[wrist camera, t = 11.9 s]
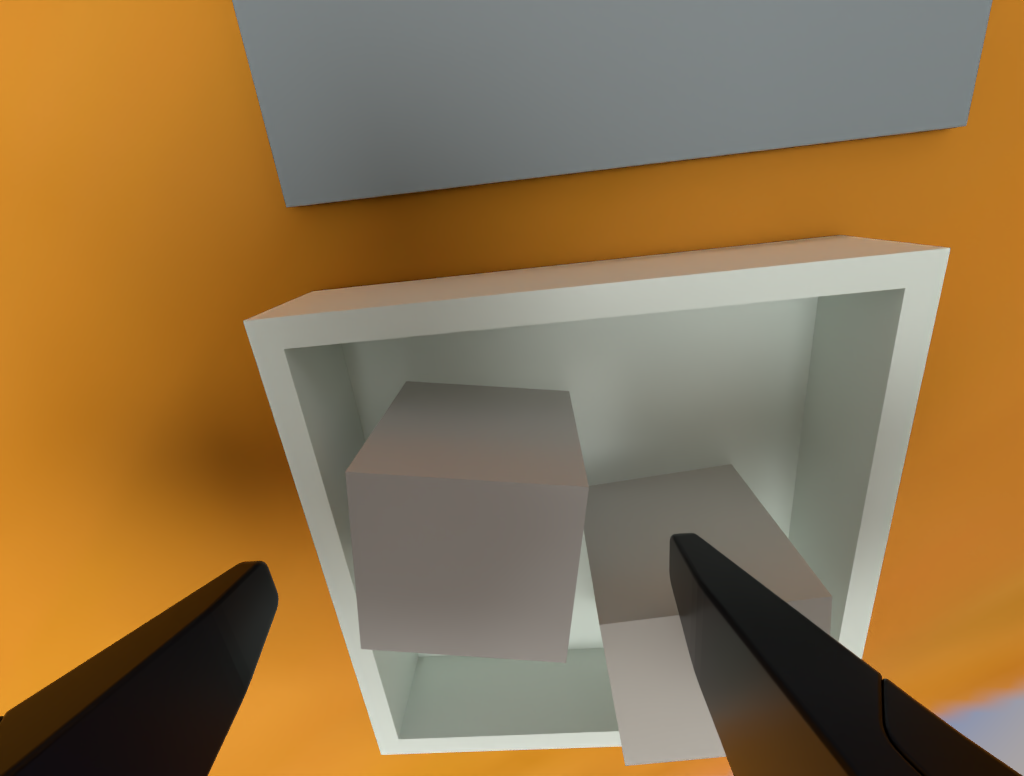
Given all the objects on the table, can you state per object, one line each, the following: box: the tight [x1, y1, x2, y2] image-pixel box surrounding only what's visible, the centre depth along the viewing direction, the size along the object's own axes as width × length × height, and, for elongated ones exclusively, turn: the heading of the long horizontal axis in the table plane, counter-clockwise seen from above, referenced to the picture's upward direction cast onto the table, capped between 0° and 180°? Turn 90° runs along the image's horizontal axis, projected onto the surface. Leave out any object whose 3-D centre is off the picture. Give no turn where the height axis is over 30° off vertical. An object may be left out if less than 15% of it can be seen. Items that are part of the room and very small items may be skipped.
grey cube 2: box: [345, 381, 589, 663], centre depth 11 cm, size 4×4×4 cm
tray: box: [243, 235, 950, 755], centre depth 12 cm, size 12×12×3 cm
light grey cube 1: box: [584, 464, 832, 766], centre depth 11 cm, size 4×4×4 cm
